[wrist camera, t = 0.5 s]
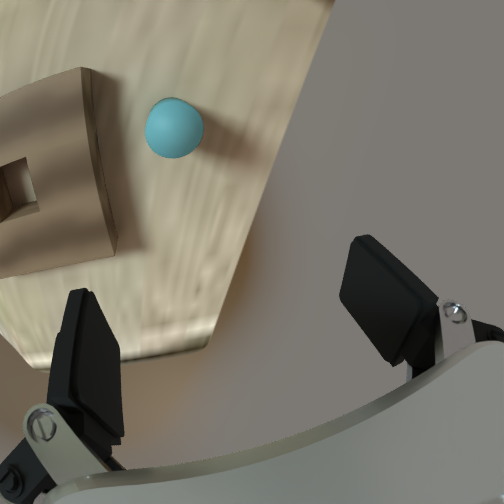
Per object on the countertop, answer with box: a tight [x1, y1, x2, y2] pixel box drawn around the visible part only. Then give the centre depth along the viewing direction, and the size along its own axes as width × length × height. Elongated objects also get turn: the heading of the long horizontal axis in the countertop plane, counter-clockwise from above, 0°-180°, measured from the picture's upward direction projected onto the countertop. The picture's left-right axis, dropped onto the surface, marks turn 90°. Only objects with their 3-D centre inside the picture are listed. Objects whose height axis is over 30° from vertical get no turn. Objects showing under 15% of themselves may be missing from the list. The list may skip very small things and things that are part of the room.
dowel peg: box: [145, 97, 204, 158], centre depth 23 cm, size 4×4×9 cm
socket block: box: [0, 67, 118, 279], centre depth 22 cm, size 20×20×4 cm
